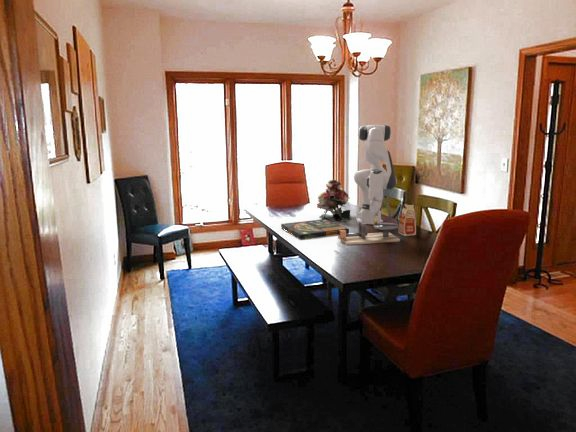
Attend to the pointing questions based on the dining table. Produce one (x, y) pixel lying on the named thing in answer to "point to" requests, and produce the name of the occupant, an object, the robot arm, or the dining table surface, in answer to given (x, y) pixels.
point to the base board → (370, 237)
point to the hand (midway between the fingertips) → (375, 217)
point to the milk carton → (407, 221)
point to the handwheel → (384, 225)
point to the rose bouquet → (334, 202)
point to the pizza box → (313, 228)
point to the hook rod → (348, 234)
